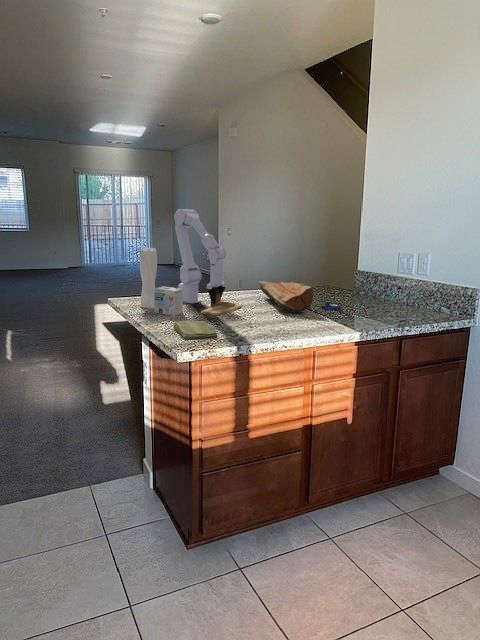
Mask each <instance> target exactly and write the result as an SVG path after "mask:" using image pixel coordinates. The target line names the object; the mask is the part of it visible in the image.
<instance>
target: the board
mask: <svg viewBox="0 0 480 640" xmlns="http://www.w3.org/2000/svg"><path fill="white" fill-rule="evenodd" d="M242 307H243V305H242V304H236V303H235V306H229V305H221V304H220V305H217V306H214V307H211V306H210V307H208V308H206V309H202V310H200V314H205V315H210V316H216V317H217V316H218V317H220V316H223V315H225V314H227V313H230V312H233V311H236V310H238V309H241V308H242Z"/></svg>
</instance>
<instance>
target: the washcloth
mask: <svg viewBox="0 0 480 640" xmlns="http://www.w3.org/2000/svg"><path fill="white" fill-rule="evenodd" d="M172 328H173V329H174V330H175V331H176V332H177V333H178V334H179V335H180V336H181V337H182V338H183V339H184V340H189V339H190V340H191V339H201V338H203V339H204V338H216V337H218V333H217V331H216V329H215V328H214V327H212V326H211V325H209V324H208V323H207V322H206V321H175V322H174V324H173V327H172Z"/></svg>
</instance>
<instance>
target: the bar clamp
mask: <svg viewBox="0 0 480 640" xmlns="http://www.w3.org/2000/svg"><path fill="white" fill-rule="evenodd" d="M339 307H340V304H339V302H330V301H326V302H325V305H321V309H322V310H324V311H329V310H330V311H331V310H333V311H338V312H340V313H342V314H344V315H345V316H348V317H350V318H352V319H355V317H354V316H352V315H350V314H348V313H347V312H345V311H342V310H341V309H339Z"/></svg>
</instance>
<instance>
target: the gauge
mask: <svg viewBox="0 0 480 640" xmlns="http://www.w3.org/2000/svg"><path fill="white" fill-rule="evenodd" d="M220 296H221V294H220V293H218V294H217V299H216V303H215V304H214V303H211V302H210V308H211V307H214V306H217V305H220V304H221V305H229V306H235V304H236V303H235V302H231V301H230V302H229V301H222V300H221V301H220Z"/></svg>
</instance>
